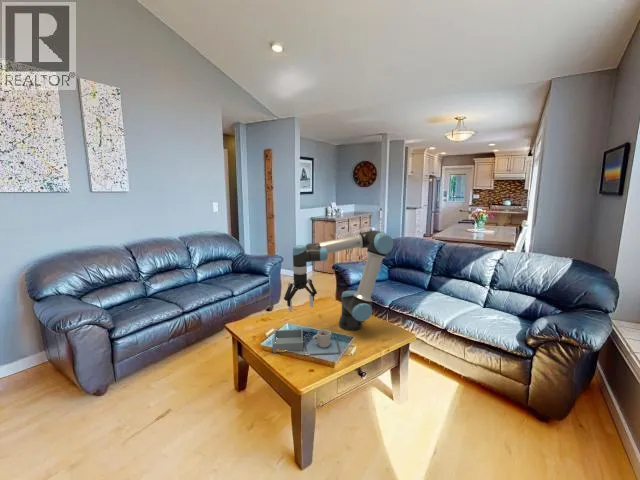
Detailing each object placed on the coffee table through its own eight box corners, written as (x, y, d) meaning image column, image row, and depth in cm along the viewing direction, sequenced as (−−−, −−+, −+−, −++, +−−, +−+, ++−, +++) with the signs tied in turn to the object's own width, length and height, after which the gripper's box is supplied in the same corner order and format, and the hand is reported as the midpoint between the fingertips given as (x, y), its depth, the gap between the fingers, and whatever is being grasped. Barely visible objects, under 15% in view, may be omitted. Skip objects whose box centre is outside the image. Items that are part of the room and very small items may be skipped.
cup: (314, 350, 171) (314, 337, 169) (310, 343, 178) (310, 330, 177) (332, 347, 174) (332, 334, 172) (328, 341, 181) (328, 328, 180)
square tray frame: (337, 337, 187) (337, 333, 187) (342, 355, 167) (342, 351, 166) (302, 338, 185) (302, 335, 185) (303, 357, 165) (303, 353, 165)
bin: (302, 337, 186) (302, 329, 185) (303, 351, 170) (303, 342, 169) (274, 338, 185) (274, 330, 184) (272, 352, 169) (272, 344, 168)
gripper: (315, 268, 183) (316, 302, 186) (276, 274, 170) (278, 311, 173) (322, 270, 177) (323, 306, 180) (282, 278, 163) (284, 316, 167)
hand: (301, 308), depth 177 cm, fingers open, 13 cm apart
